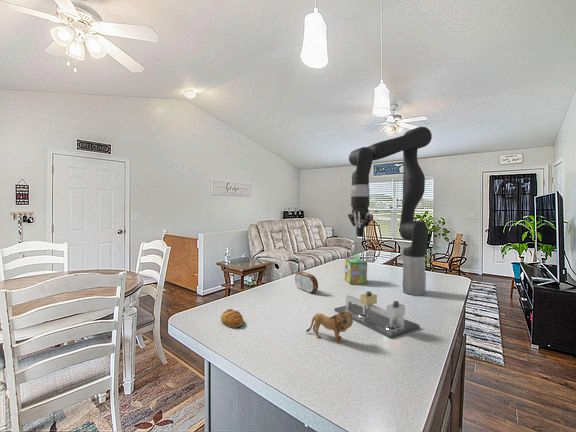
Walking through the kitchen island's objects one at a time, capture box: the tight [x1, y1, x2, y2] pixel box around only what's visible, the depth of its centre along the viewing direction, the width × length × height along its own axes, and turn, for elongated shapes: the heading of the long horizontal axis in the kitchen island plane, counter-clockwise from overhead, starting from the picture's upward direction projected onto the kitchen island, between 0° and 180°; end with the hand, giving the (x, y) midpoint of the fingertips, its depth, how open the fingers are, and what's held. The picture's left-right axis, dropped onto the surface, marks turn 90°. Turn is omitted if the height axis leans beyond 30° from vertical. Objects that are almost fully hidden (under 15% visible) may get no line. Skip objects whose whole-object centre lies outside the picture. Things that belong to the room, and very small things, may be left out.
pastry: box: [220, 308, 245, 329], centre depth 95 cm, size 9×7×4 cm
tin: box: [294, 270, 319, 294], centre depth 132 cm, size 15×3×8 cm, turn 34°
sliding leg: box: [359, 290, 378, 315], centre depth 99 cm, size 5×3×8 cm, turn 120°
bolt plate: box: [334, 303, 421, 339], centre depth 99 cm, size 14×26×1 cm, turn 30°
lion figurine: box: [305, 310, 354, 344], centre depth 85 cm, size 15×5×9 cm, turn 67°
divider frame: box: [345, 294, 406, 331], centre depth 98 cm, size 5×25×8 cm, turn 30°
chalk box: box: [344, 253, 368, 285], centre depth 147 cm, size 9×9×15 cm
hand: (359, 236), depth 119 cm, fingers closed
